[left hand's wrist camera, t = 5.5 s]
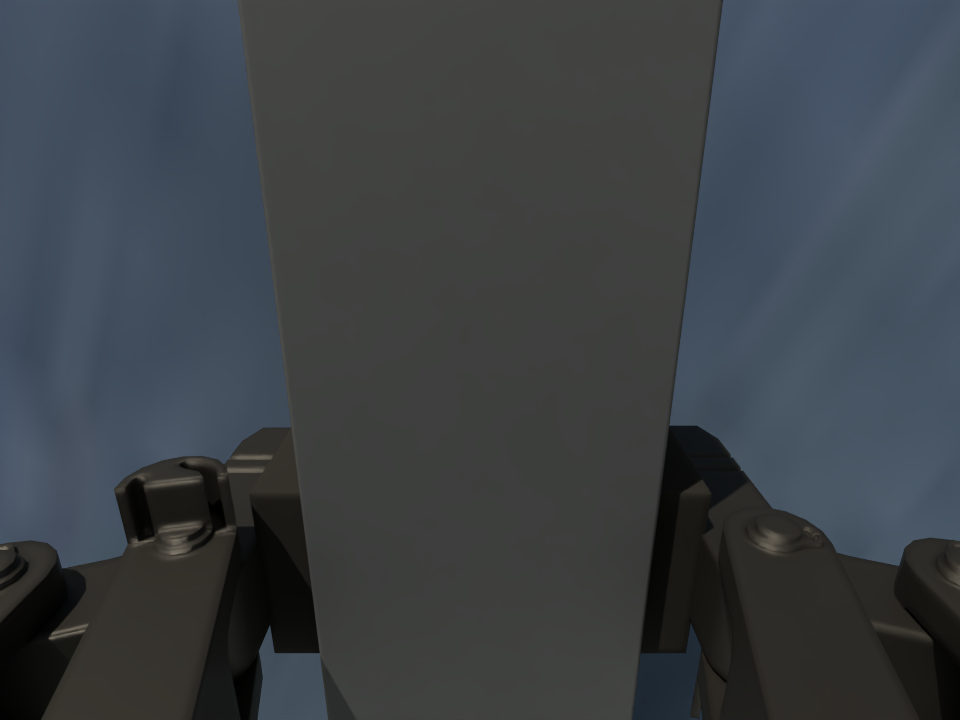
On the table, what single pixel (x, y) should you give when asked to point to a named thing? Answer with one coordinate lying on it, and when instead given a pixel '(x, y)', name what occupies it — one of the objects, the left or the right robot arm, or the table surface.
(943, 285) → the table surface
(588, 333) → the post
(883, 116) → the table surface
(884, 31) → the table surface
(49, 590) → the left robot arm
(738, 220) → the table surface
